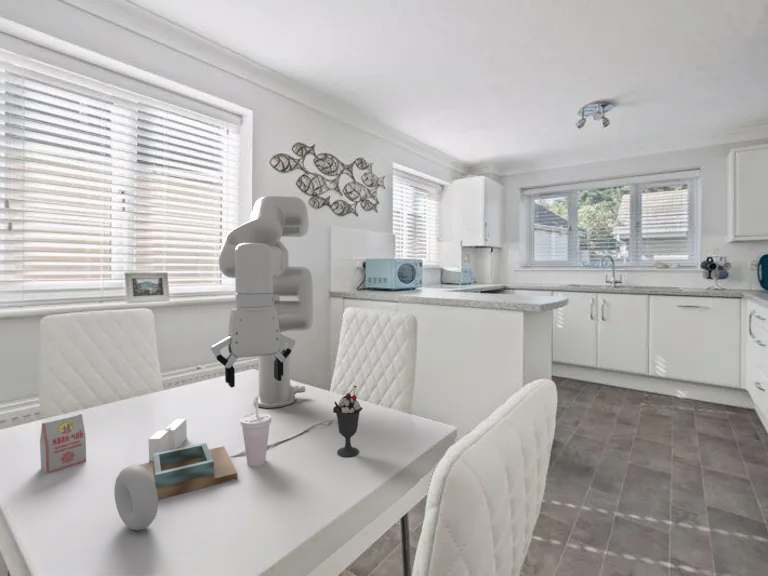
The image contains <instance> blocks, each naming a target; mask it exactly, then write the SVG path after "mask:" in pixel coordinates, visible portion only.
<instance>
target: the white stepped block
mask: <svg viewBox="0 0 768 576" xmlns="http://www.w3.org/2000/svg"><path fill="white" fill-rule="evenodd" d="M187 433H188V432H187V418H176V419H175V420H173V421H172V422H171V423H170V424H169V425H168V426H166V427H165V428H164V429H163V430H157V431H156V432H154V434H153V435H152V436H150V437H149V438H148V461H149V462H153V454H154V453H159V452H164V451H168V450H173V449H178V448H180V446H181V445H182V444H183V443H184V442H185V441H186V440H187V438H188V436H187Z"/></svg>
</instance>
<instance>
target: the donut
mask: <svg viewBox="0 0 768 576" xmlns="http://www.w3.org/2000/svg"><path fill="white" fill-rule="evenodd" d="M139 465H140V464H131V465H128V466H126V467H125V468H122V470H120V472H119V474H117V477H116V479H115V482H114V492H113V493H114V502H115V506H116V509H117V510H116V511H117V513H118V515H119V517H120V519H121V520H122V522H123V524H124V525H125V526H126V527H127V528H129V529H131V530H133V531H141V530H143V529H147V528H148V527H149V526H150V525H151V524H152V522H154V520H155V519H156V516H157V513H158V510H159V509H158V508H159V499H158V495H157V490H156V486H155V483H154V481H153V478H152V477H151V475H150V474H149V472H148V471H147V470H146V469H145V468H144V467H142V466H139Z"/></svg>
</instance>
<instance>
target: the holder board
mask: <svg viewBox="0 0 768 576" xmlns="http://www.w3.org/2000/svg"><path fill="white" fill-rule="evenodd" d="M138 465H139V466H142V467H144V468H145V469H146V470H147V471H148V472H149V474H150V475H151V477H152V478H153V481H154V483H155V486H156V490H157V495H158V500H161V499H165V498H166V499H167V498H169V497H174V496H177V495H180V494H184V493H188V492H192V491H196V490H200V489H203V488H208V487H211V485H212V486H216V485H218V484H223V483H227V482H231V481H233V480H237V479H238V471H237V469H236V467H235V466H234V463H233V462H232V460H231V457H230V455H229V454H228V451H227V450H226V448H225V446H224V445H223V446H218V447H214V448H209V447H208V444H207V442H204V443H203V442H202V443H198V444H194V445H188V446H183V447H178V448H177V449H173V450H168V451H164V452H159V453H154V454H153V461H149V462H145V463H139V464H138ZM230 480H231V481H230ZM215 484H216V485H215ZM207 486H208V487H207Z"/></svg>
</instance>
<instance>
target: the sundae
mask: <svg viewBox="0 0 768 576" xmlns="http://www.w3.org/2000/svg"><path fill="white" fill-rule="evenodd" d="M357 387H358V386H357V385H354V386H353V388H352V389H351V391H350V392H347V393H346V394H345V395H344V396H342V397H341V398H340V400H339V402H337V401H334V405H335V406H334V407H333V408H332V411H333V413H334V414H335V415H336V420H337V427H338V432H339V434H340V435H341V436H342V437H344V439H345V441H344V442H345V444H344V446H343V447H340V448H339V449H338V450H337V452H336V454H337V455H338V456H340V457H343V458H351V457H355V456H357V455H358V454H359V453H360V450H359V449H358V448H357V447H354V446H352V443H351V440H352V439H351V438H352V437H353V436H354V435H356V433H357V431H358V426H359V417H360V412H361V411H362V410H363V407H362V406H361V404H360V403H359V401H358V400H357V399H358V397H357V395H356V394H355V390H356V388H357ZM352 391H353V395H352V394H351V392H352Z"/></svg>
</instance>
